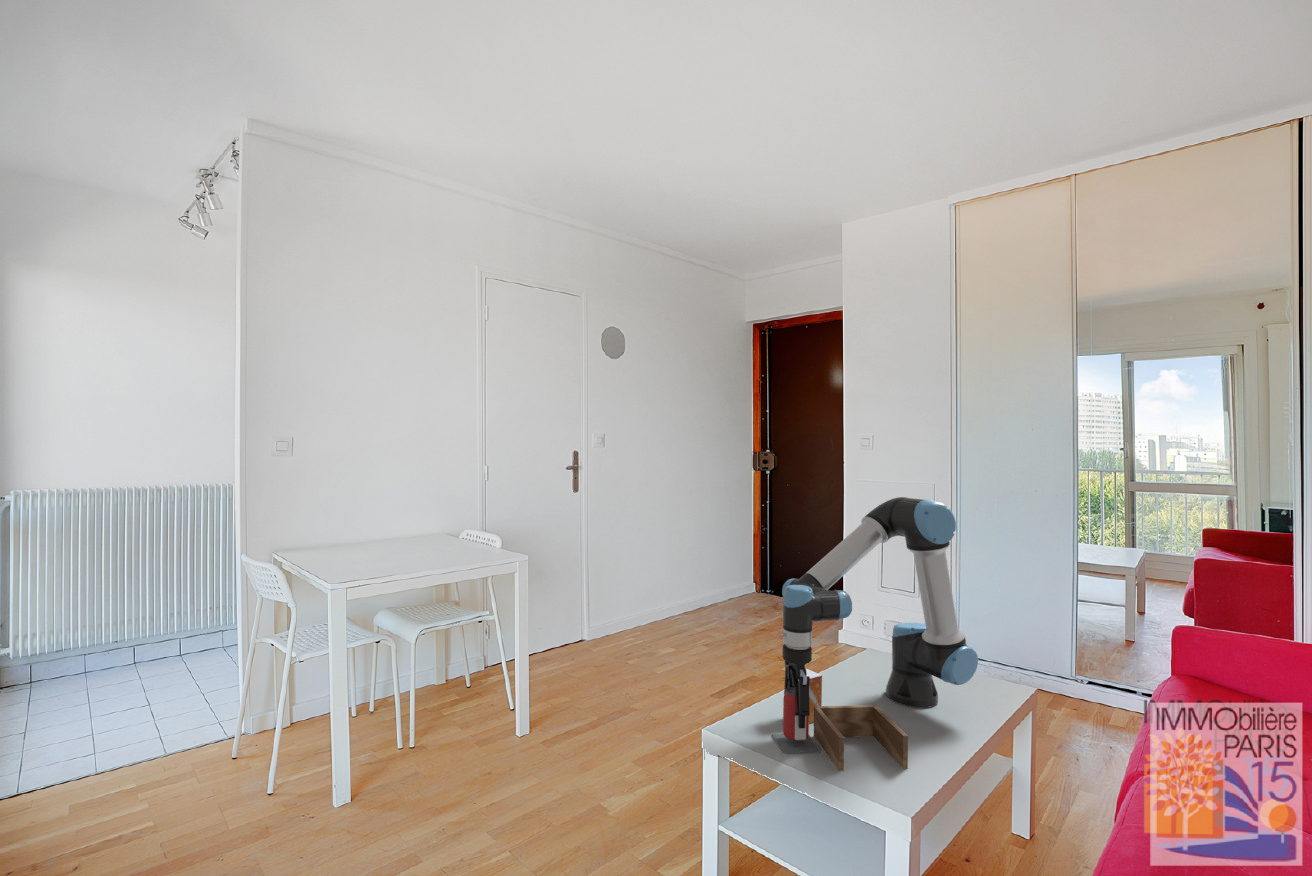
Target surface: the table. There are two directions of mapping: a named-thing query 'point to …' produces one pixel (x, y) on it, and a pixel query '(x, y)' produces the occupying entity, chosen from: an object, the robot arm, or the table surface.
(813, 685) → the small box
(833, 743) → the open wooden enclosure
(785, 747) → the place mat
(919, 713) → the table surface
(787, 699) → the beer can
